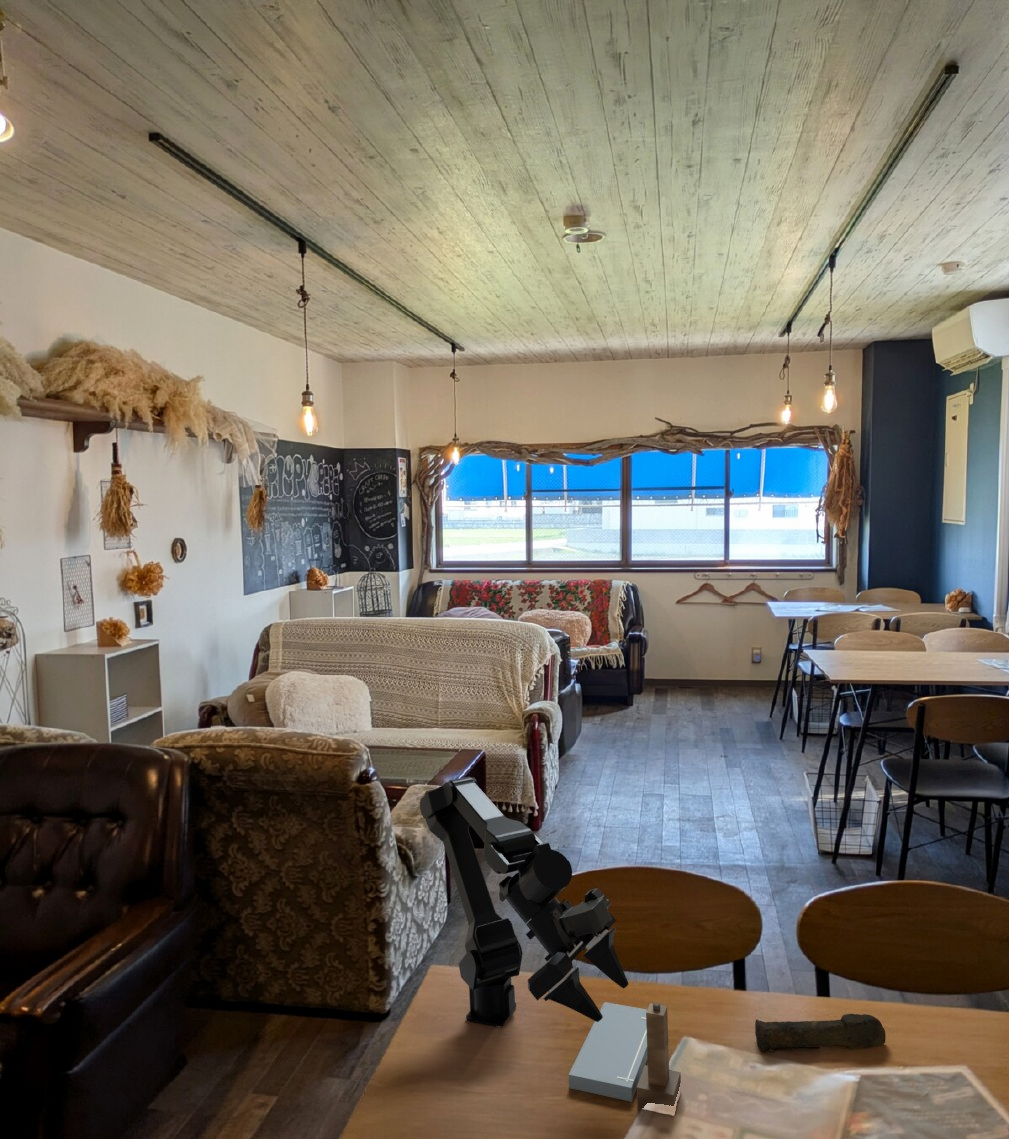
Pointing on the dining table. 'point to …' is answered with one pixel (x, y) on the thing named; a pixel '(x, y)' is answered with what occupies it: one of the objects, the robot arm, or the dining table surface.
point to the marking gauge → (657, 1062)
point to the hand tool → (822, 1033)
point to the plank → (612, 1053)
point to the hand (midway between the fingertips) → (613, 1002)
